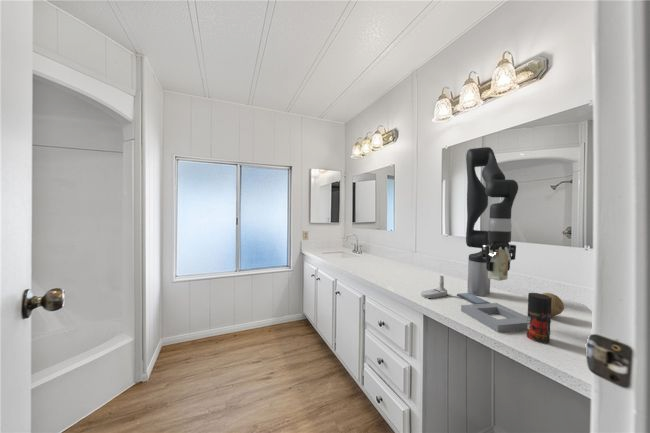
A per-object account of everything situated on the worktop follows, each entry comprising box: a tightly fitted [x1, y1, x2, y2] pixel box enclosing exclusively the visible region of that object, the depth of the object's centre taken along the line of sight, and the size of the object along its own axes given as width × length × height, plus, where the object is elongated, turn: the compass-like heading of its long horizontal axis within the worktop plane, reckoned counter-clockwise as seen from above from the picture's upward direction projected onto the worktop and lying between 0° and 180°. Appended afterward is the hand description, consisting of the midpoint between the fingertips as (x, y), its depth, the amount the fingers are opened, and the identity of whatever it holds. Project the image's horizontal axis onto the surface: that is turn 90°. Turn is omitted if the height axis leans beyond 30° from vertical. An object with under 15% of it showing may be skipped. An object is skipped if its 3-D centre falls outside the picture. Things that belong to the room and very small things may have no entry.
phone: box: [456, 292, 491, 304], centre depth 117 cm, size 7×13×1 cm, turn 10°
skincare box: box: [488, 249, 509, 282], centre depth 97 cm, size 6×4×12 cm
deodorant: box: [526, 292, 552, 345], centre depth 83 cm, size 6×6×15 cm
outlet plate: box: [460, 302, 527, 333], centre depth 97 cm, size 18×18×2 cm
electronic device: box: [420, 275, 448, 299], centre depth 122 cm, size 5×10×15 cm
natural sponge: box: [542, 292, 565, 318], centre depth 99 cm, size 9×9×10 cm
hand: (497, 270), depth 97 cm, fingers closed on skincare box, 7 cm apart
